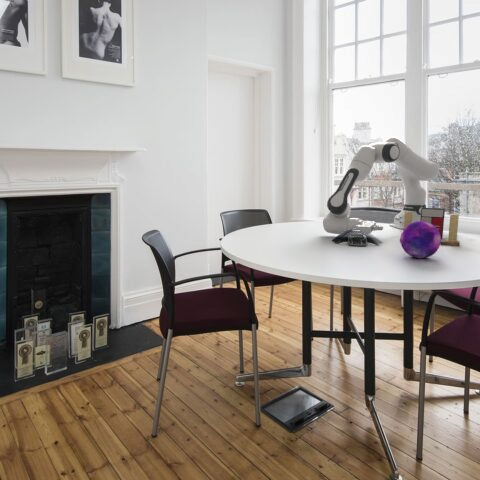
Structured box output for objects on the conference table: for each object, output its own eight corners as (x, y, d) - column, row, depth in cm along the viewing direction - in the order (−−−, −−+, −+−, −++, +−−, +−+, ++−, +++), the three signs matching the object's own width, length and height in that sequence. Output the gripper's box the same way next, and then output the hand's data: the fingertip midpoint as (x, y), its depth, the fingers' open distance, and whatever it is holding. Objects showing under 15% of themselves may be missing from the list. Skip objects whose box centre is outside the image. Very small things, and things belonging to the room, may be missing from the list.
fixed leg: (446, 241, 206) (448, 214, 204) (446, 240, 210) (448, 213, 208) (458, 242, 204) (460, 215, 202) (458, 241, 208) (460, 214, 206)
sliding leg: (401, 238, 214) (402, 212, 212) (402, 236, 218) (403, 211, 216) (412, 239, 212) (414, 212, 210) (412, 237, 216) (414, 211, 214)
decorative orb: (413, 262, 169) (416, 224, 166) (392, 255, 183) (394, 219, 181) (447, 261, 172) (450, 223, 170) (423, 253, 187) (426, 218, 184)
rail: (399, 242, 214) (399, 238, 213) (401, 240, 220) (401, 236, 220) (459, 246, 203) (459, 243, 203) (458, 243, 209) (459, 240, 209)
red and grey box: (419, 236, 230) (421, 208, 227) (419, 235, 233) (422, 207, 231) (442, 238, 225) (444, 209, 222) (442, 237, 228) (445, 208, 226)
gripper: (350, 223, 215) (380, 224, 210) (358, 218, 234) (385, 219, 228) (350, 235, 217) (379, 237, 211) (357, 230, 235) (385, 231, 229)
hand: (382, 228), depth 219 cm, fingers closed
